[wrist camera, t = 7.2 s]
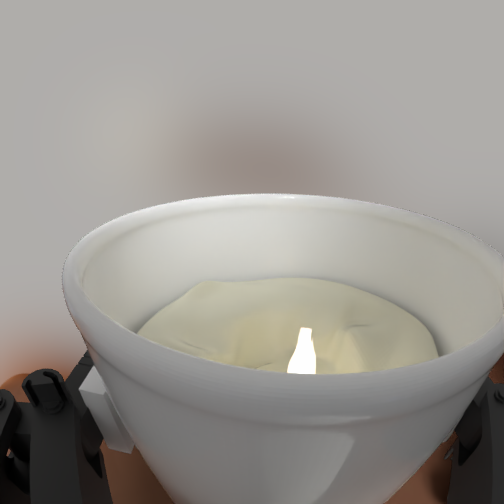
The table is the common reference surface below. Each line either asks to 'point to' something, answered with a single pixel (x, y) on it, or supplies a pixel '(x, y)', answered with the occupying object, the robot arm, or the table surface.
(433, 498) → the table surface
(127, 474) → the table surface
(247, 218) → the candle holder
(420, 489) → the table surface
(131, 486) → the table surface
